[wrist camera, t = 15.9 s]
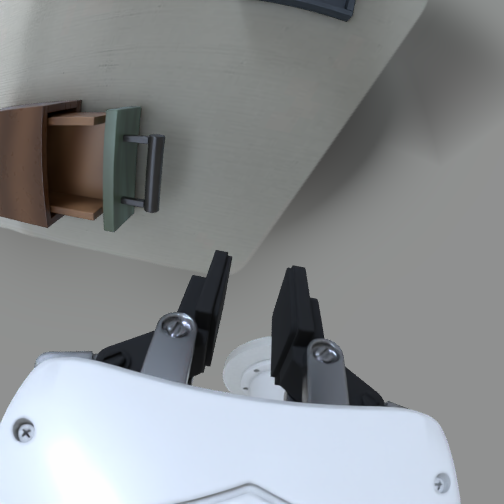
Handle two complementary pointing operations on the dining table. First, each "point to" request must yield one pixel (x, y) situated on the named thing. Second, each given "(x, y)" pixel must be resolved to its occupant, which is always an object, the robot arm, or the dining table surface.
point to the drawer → (100, 165)
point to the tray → (323, 7)
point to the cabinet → (27, 161)
